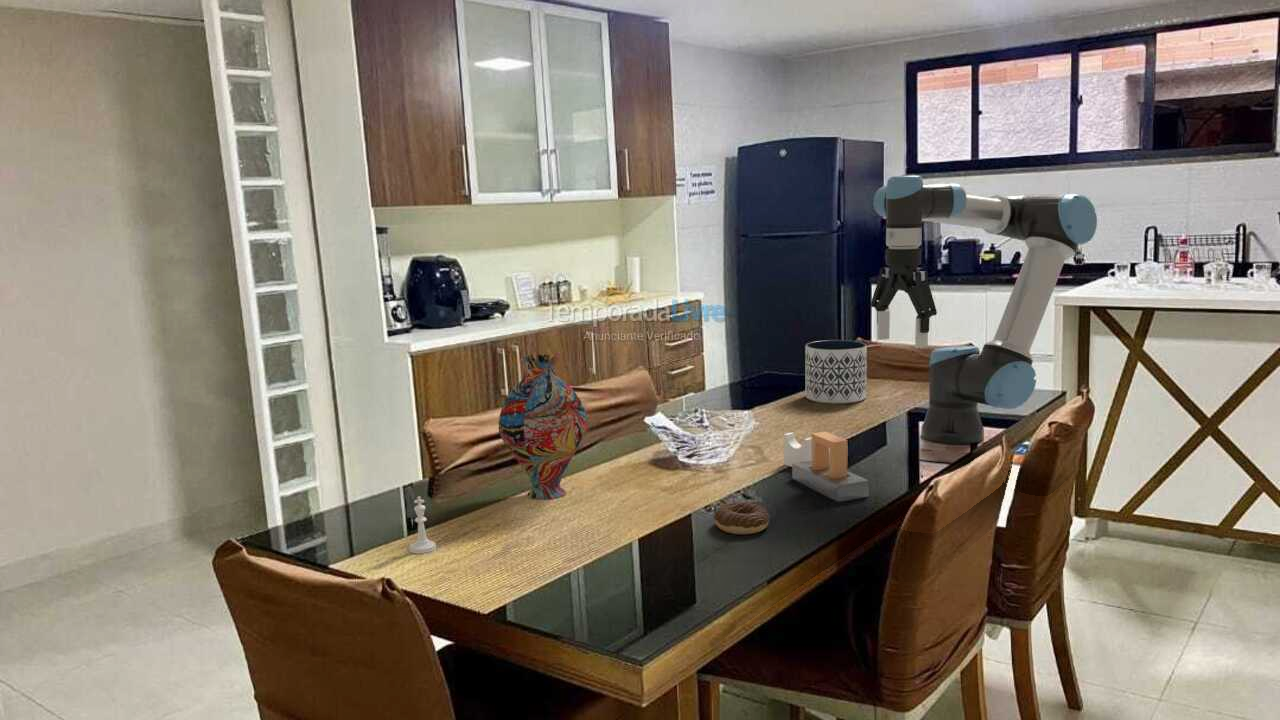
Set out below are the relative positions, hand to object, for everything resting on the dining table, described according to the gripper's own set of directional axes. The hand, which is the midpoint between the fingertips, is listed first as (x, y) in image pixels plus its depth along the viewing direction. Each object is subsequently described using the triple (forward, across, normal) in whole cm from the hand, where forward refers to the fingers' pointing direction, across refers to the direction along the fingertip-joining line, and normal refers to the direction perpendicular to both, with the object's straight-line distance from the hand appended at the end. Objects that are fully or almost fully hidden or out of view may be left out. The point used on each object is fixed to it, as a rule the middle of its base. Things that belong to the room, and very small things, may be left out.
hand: (901, 343), depth 213 cm
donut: (+29, +18, -50) cm, 61 cm away
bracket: (+29, -13, -14) cm, 35 cm away
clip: (+28, +5, -22) cm, 36 cm away
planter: (+29, -69, +28) cm, 80 cm away
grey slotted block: (+29, +5, -22) cm, 37 cm away
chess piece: (+29, +2, -108) cm, 112 cm away
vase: (+29, -19, -78) cm, 85 cm away
